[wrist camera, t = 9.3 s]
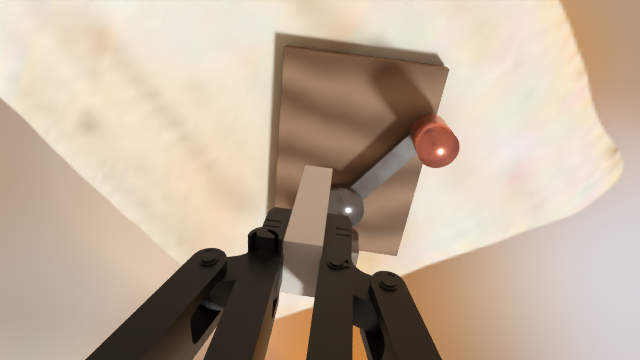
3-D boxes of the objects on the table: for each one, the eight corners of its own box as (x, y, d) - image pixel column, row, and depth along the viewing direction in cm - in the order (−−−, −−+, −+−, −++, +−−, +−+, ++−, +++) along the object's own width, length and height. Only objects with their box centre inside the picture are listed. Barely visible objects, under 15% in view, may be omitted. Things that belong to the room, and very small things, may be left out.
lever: (423, 98, 38) (435, 116, 32) (455, 131, 39) (473, 154, 34) (306, 206, 46) (299, 236, 40) (336, 230, 47) (334, 263, 42)
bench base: (286, 45, 39) (267, 57, 30) (446, 66, 38) (471, 85, 30) (274, 231, 51) (258, 276, 42) (395, 249, 50) (403, 298, 42)
